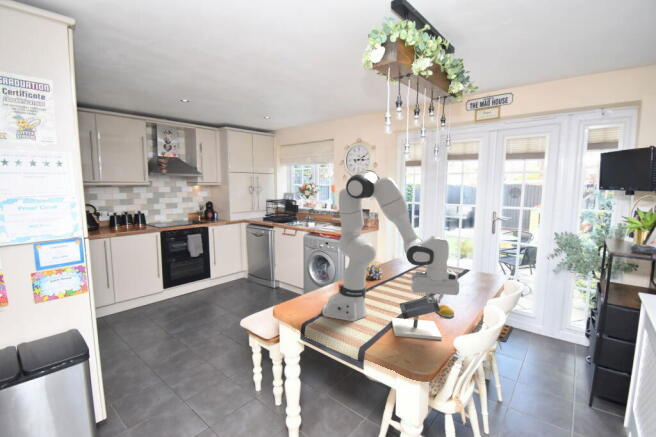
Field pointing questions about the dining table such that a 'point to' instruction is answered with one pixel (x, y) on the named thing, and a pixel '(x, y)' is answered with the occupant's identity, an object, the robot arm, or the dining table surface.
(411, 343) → the dining table surface
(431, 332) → the plate
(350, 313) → the robot arm
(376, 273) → the passion flower
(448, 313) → the bread roll
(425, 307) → the dark grey rectangular frame
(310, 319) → the dining table surface
